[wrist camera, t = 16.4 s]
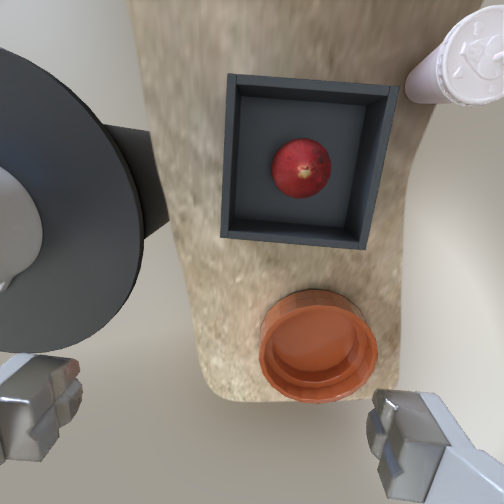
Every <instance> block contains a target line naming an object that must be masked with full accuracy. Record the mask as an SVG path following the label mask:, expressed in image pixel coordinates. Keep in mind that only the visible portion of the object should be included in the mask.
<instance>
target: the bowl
mask: <svg viewBox="0 0 504 504" xmlns="http://www.w3.org/2000/svg"><path fill="white" fill-rule="evenodd" d="M377 357H378V352H377V344H376V339H375V337H374V335H373V333H372V332H371V330H370V328H369V326H368V325H367V323H366V321H365V319H364V318H363V316H362V314H361V312H360V311H359V309H358V308H357V307H356V306H355V305H354V304H353V303H351V302H350V301H349V300H348V299H347V298H345V297H343V296H340V295H338V294H336V293H333V292H331V291H322V290H307V291H302V292H297V293H293V294H291V295H290V296H288V297H286V298H284V299H282V300H280V301H279V302H278V303H277V304H276V305H275V306H274V307H273V308H272V309H271V310H270V311H269V312H268V313H267V315H266V317H265V319H264V321H263V323H262V325H261V331H260V342H259V362H260V365H261V369H262V373H263V375H264V376H265V378H266V379H267V380H268V382H269V383H270V384H271V386H272V387H273V388H275V389H276V390H277V391H279V392H280V393H281V394H283V395H284V396H286V397H289V398H291V399H294V400H297V401H299V402H305V403H316V404H320V403H327V402H334V401H337V400H340V399H342V398H344V397H347V396H349V395H351V394H353V393H354V392H355V391H357V390H358V389H359V388H360V387H362V386H363V385H364V384H365V383H366V382H367V380H368V379H369V377H370V376H371V374H372V373H373V371H374V369H375V365H376V361H377Z"/></svg>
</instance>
